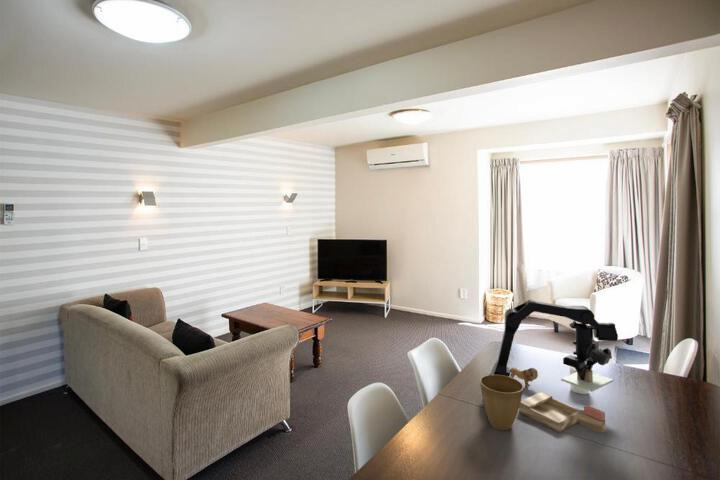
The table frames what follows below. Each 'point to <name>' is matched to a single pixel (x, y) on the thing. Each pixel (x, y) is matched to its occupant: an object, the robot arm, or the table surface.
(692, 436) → the table surface
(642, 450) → the table surface
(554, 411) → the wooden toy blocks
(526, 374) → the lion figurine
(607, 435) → the table surface
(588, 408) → the block
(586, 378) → the lid
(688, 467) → the table surface
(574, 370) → the white cup
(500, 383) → the plant pot
